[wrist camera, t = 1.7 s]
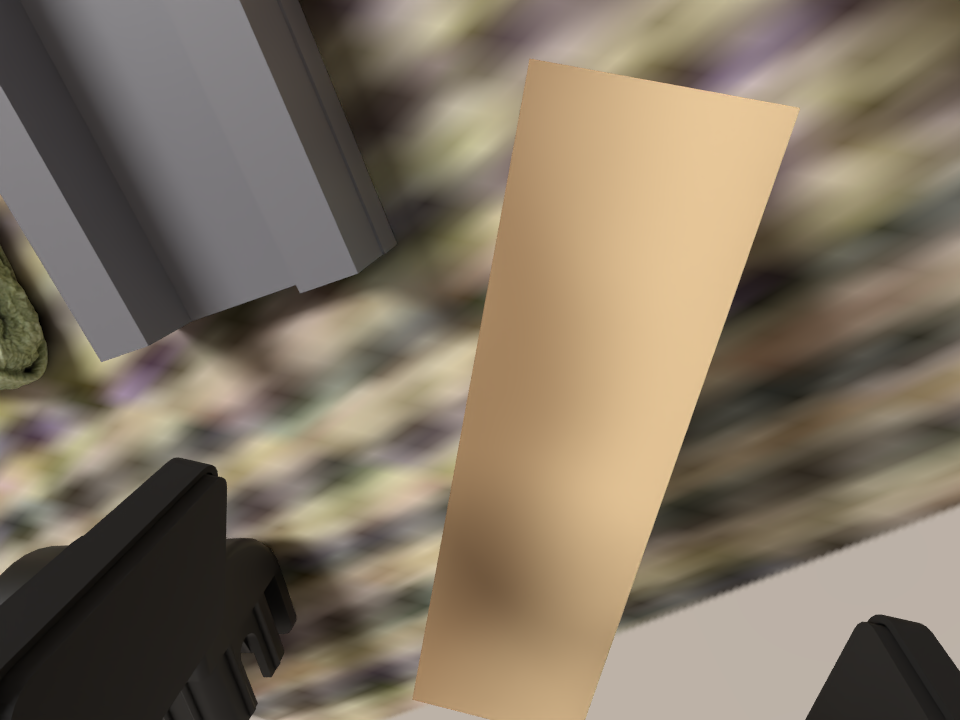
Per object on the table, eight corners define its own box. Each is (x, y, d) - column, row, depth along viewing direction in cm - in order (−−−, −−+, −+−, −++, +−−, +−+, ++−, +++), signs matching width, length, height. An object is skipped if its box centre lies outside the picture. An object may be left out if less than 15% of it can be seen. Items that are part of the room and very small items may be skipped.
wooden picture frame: (686, 106, 19) (807, 108, 9) (580, 481, 25) (581, 742, 15) (551, 81, 19) (523, 57, 9) (477, 458, 25) (408, 698, 15)
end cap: (268, 499, 27) (177, 615, 21) (309, 623, 30) (239, 759, 24) (74, 509, 29) (-61, 618, 23) (128, 625, 32) (20, 752, 26)
